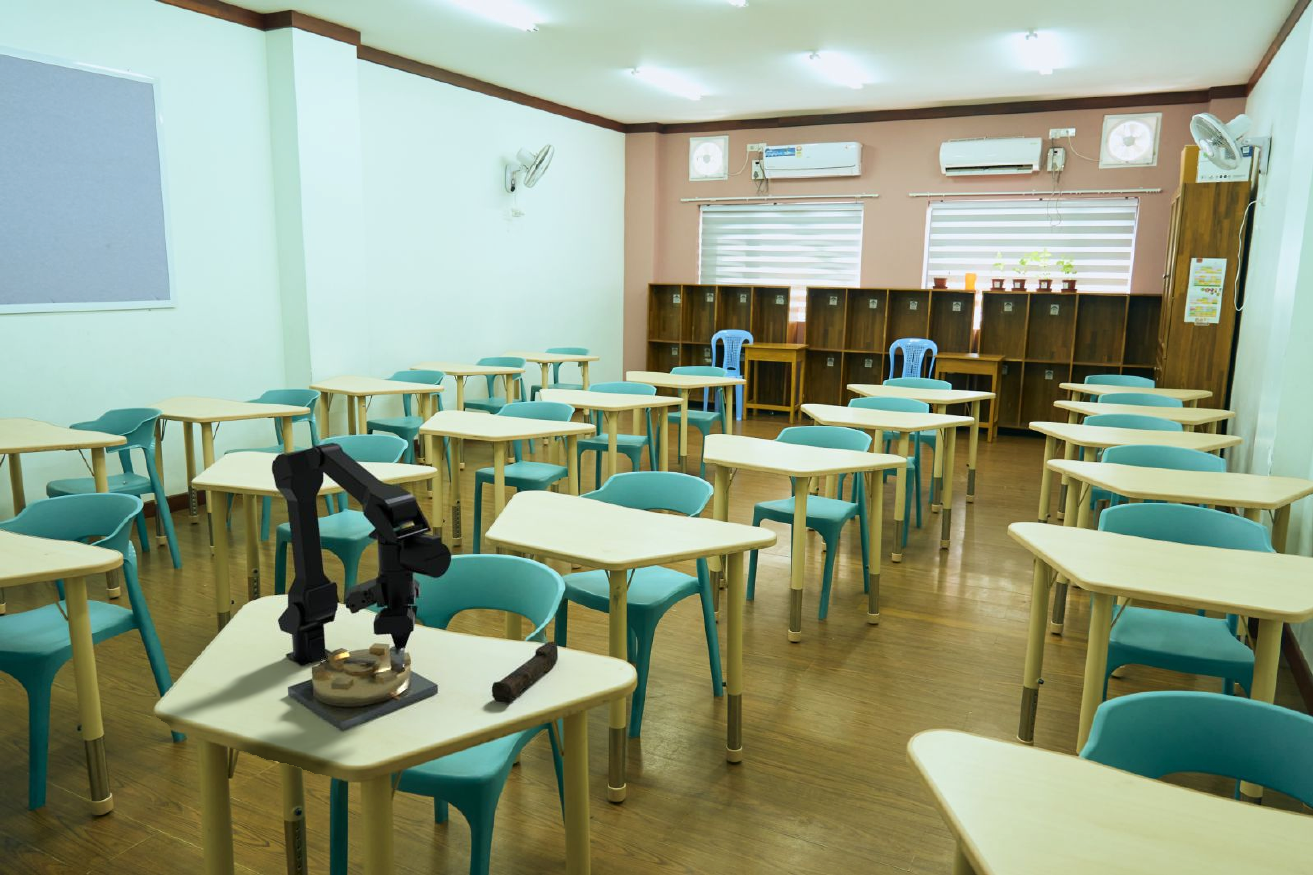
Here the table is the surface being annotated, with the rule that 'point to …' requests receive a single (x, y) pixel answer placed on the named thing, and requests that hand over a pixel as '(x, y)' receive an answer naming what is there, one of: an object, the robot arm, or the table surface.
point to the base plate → (360, 714)
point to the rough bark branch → (526, 673)
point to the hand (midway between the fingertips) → (400, 652)
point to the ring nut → (362, 675)
